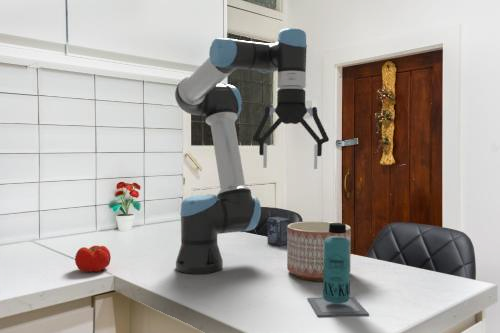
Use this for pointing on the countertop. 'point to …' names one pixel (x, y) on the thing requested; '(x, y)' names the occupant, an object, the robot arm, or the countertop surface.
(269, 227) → the box
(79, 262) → the tomato
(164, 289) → the countertop surface
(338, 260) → the beverage bottle
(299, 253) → the planter
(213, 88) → the robot arm
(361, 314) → the slate mat
